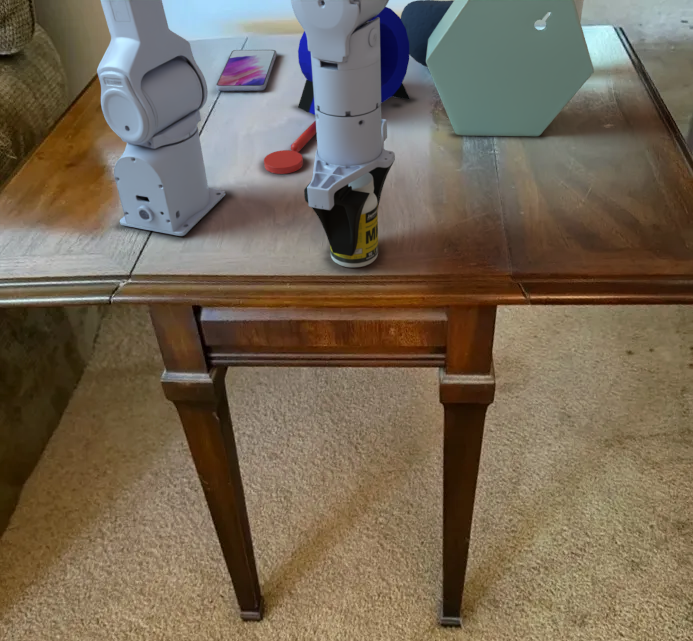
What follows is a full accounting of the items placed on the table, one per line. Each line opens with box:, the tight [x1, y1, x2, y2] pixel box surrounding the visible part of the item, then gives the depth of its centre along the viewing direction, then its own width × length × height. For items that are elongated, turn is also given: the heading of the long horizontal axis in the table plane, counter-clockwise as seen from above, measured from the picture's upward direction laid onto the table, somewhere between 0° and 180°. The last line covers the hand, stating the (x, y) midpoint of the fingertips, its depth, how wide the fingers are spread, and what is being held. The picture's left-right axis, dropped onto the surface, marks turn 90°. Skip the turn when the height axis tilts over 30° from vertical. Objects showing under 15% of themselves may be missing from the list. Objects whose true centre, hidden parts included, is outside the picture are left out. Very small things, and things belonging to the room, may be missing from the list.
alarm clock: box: [297, 6, 411, 116], centre depth 100 cm, size 12×12×15 cm
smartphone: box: [215, 49, 278, 92], centre depth 114 cm, size 7×1×15 cm
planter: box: [426, 0, 595, 137], centre depth 92 cm, size 17×8×21 cm
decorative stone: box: [400, 0, 454, 68], centre depth 110 cm, size 12×12×10 cm
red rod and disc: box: [263, 119, 317, 175], centre depth 94 cm, size 13×5×1 cm, turn 158°
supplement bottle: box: [329, 172, 379, 268], centre depth 72 cm, size 5×5×8 cm
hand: (353, 238), depth 74 cm, fingers closed on supplement bottle, 5 cm apart
